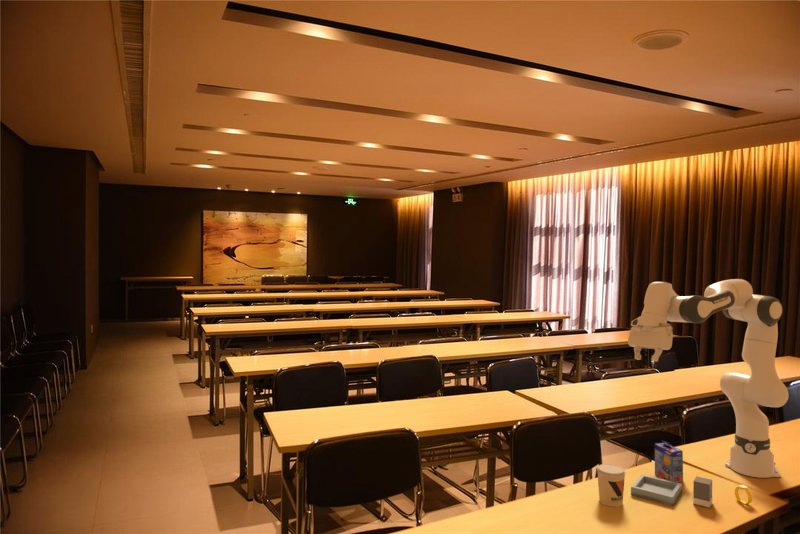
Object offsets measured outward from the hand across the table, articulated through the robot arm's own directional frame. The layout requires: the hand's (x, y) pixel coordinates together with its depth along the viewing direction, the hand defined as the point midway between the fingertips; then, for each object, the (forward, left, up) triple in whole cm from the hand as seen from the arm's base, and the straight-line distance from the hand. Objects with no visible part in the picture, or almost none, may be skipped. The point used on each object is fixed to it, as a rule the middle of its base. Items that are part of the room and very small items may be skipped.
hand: (645, 360), depth 198 cm
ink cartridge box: (-21, +3, -50) cm, 54 cm away
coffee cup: (+14, -8, -50) cm, 52 cm away
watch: (-14, +29, -50) cm, 59 cm away
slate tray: (-3, +3, -50) cm, 50 cm away
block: (-4, +18, -50) cm, 53 cm away
